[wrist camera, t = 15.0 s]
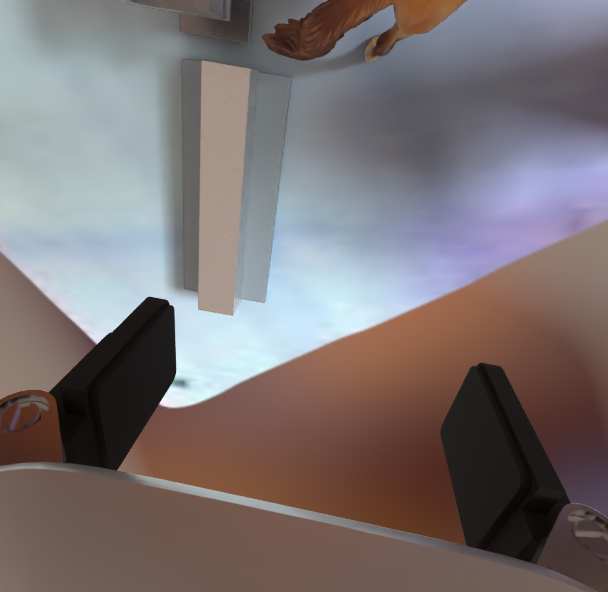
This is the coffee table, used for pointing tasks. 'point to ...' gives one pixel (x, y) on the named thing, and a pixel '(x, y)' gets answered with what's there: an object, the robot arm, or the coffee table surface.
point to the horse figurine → (348, 14)
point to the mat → (262, 177)
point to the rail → (225, 181)
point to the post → (209, 17)
